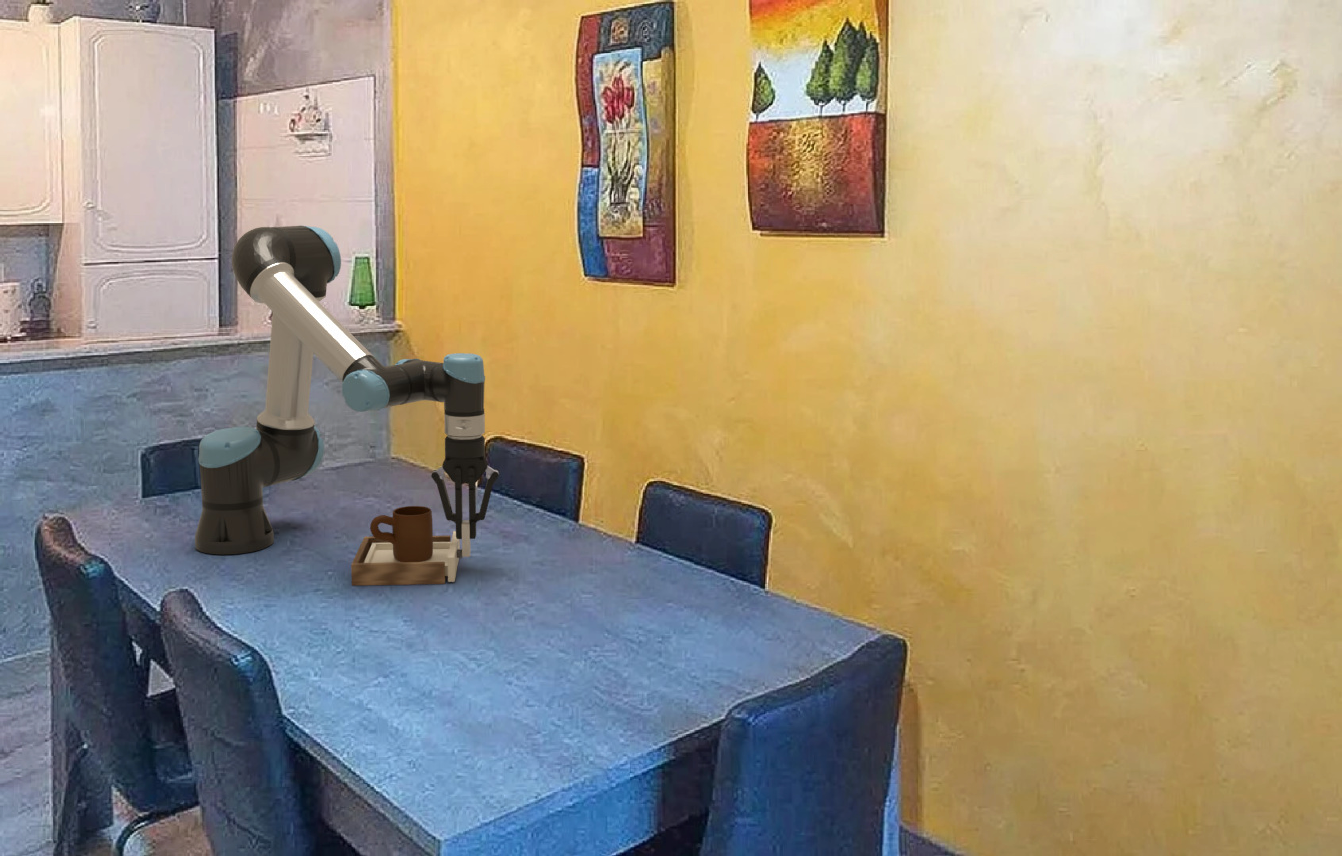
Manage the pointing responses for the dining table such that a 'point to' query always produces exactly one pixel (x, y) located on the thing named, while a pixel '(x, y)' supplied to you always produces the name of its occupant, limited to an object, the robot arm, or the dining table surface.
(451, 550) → the drawer
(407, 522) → the mug
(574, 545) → the dining table surface
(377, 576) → the frame
